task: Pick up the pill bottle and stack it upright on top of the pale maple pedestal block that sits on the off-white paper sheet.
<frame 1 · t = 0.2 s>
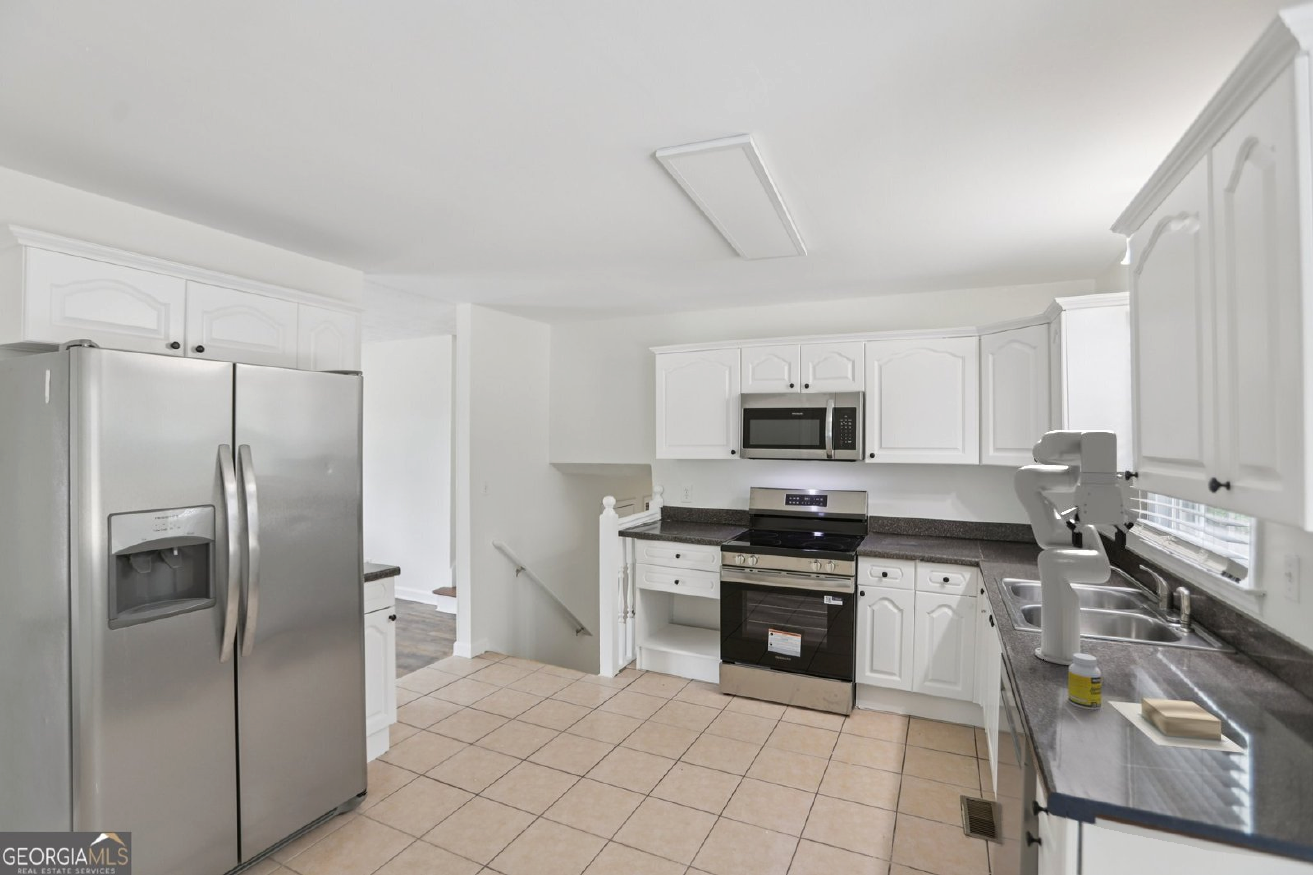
hand: (1098, 548, 158), 36 cm above the counter, tool pointing down, fingers open, 9 cm apart
pedestal block: (1179, 727, 139), resting on off-white paper sheet
pill bottle: (1084, 706, 151), on the counter
off-white paper sheet: (1171, 726, 140), on the counter
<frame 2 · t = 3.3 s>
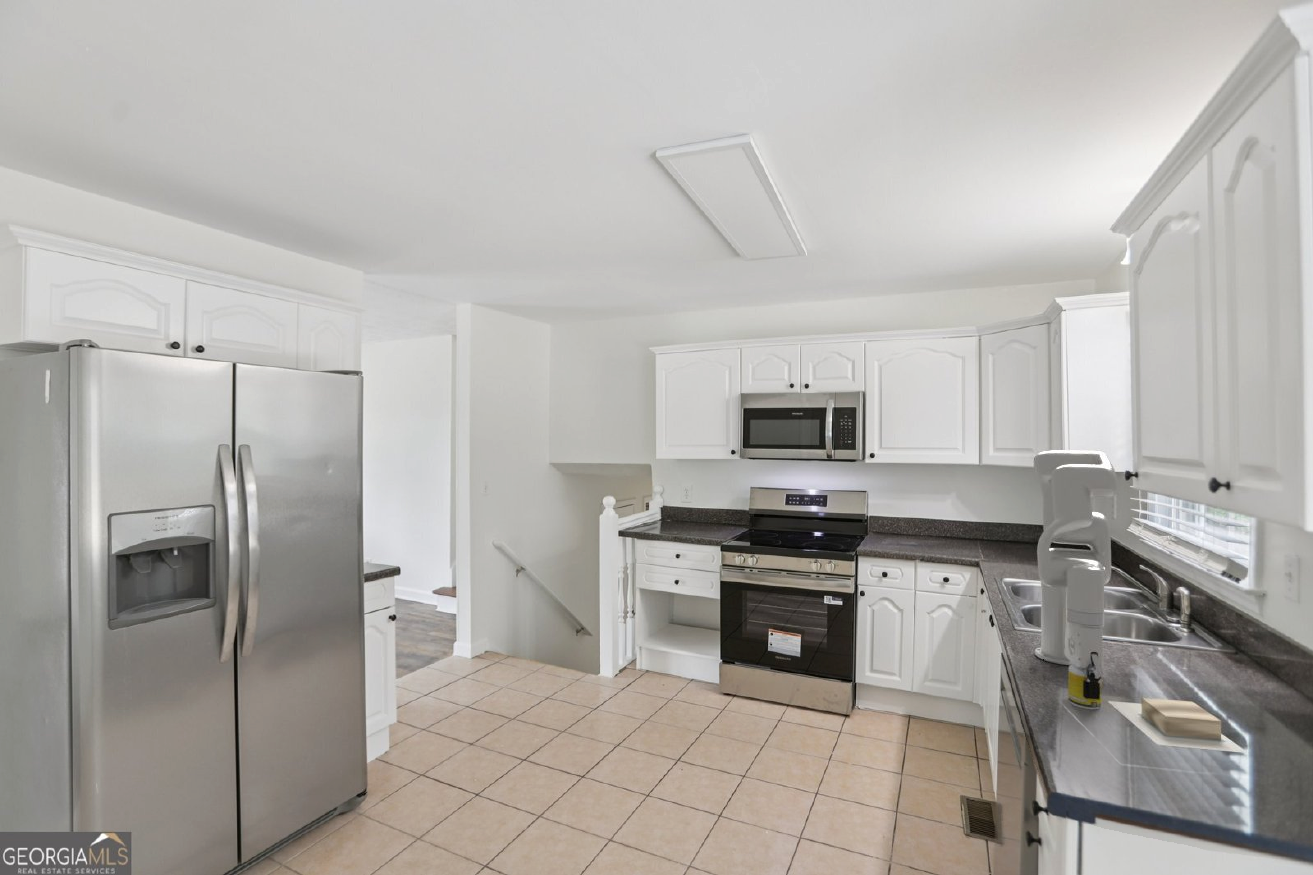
hand: (1084, 691, 151), 3 cm above the counter, tool pointing down, fingers closed on pill bottle, 6 cm apart
pill bottle: (1084, 705, 151), on the counter, touching gripper
everything else where it was.
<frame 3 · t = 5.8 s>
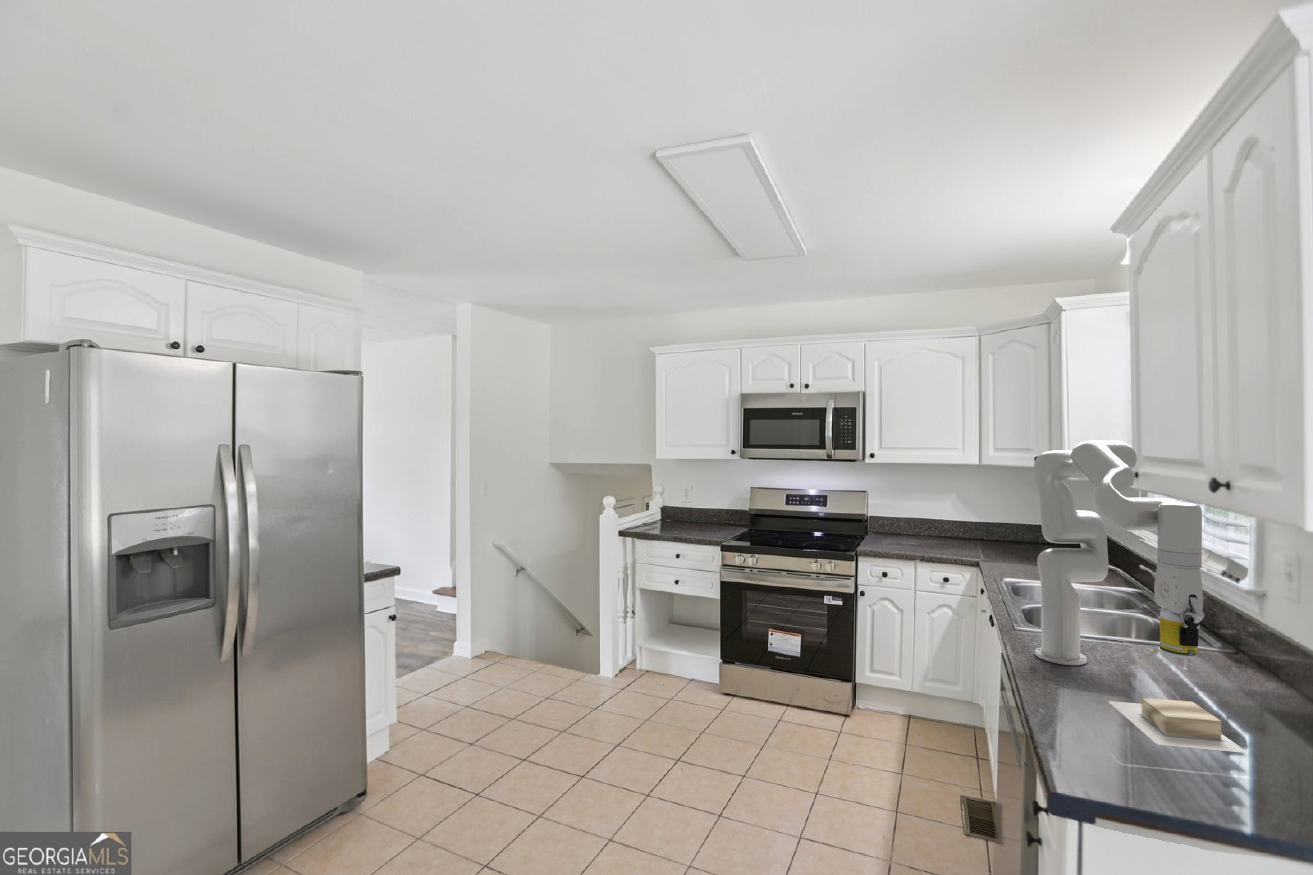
hand: (1178, 639, 139), 19 cm above the counter, tool pointing down, fingers closed on pill bottle, 6 cm apart
pill bottle: (1178, 655, 139), point 16 cm above the counter, touching gripper
everything else where it was.
when the fingers open (8 cm above the counter, at t = 8.3 s): pill bottle stays where it is, resting on pedestal block.
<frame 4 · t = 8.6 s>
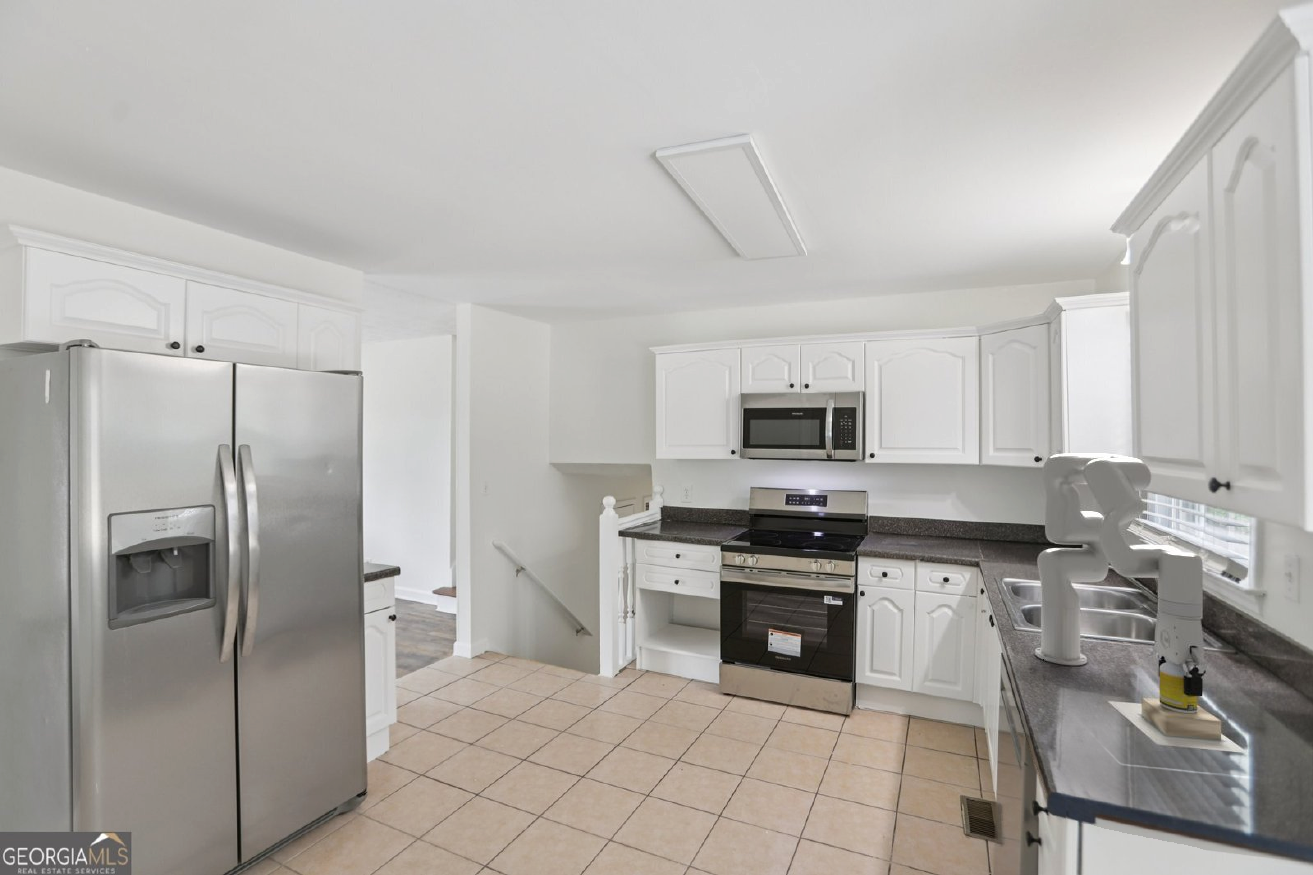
hand: (1179, 686, 139), 9 cm above the counter, tool pointing down, fingers open, 9 cm apart
pedestal block: (1179, 727, 139), resting on off-white paper sheet, touching pill bottle
pill bottle: (1178, 709, 139), point 4 cm above the counter, touching pedestal block
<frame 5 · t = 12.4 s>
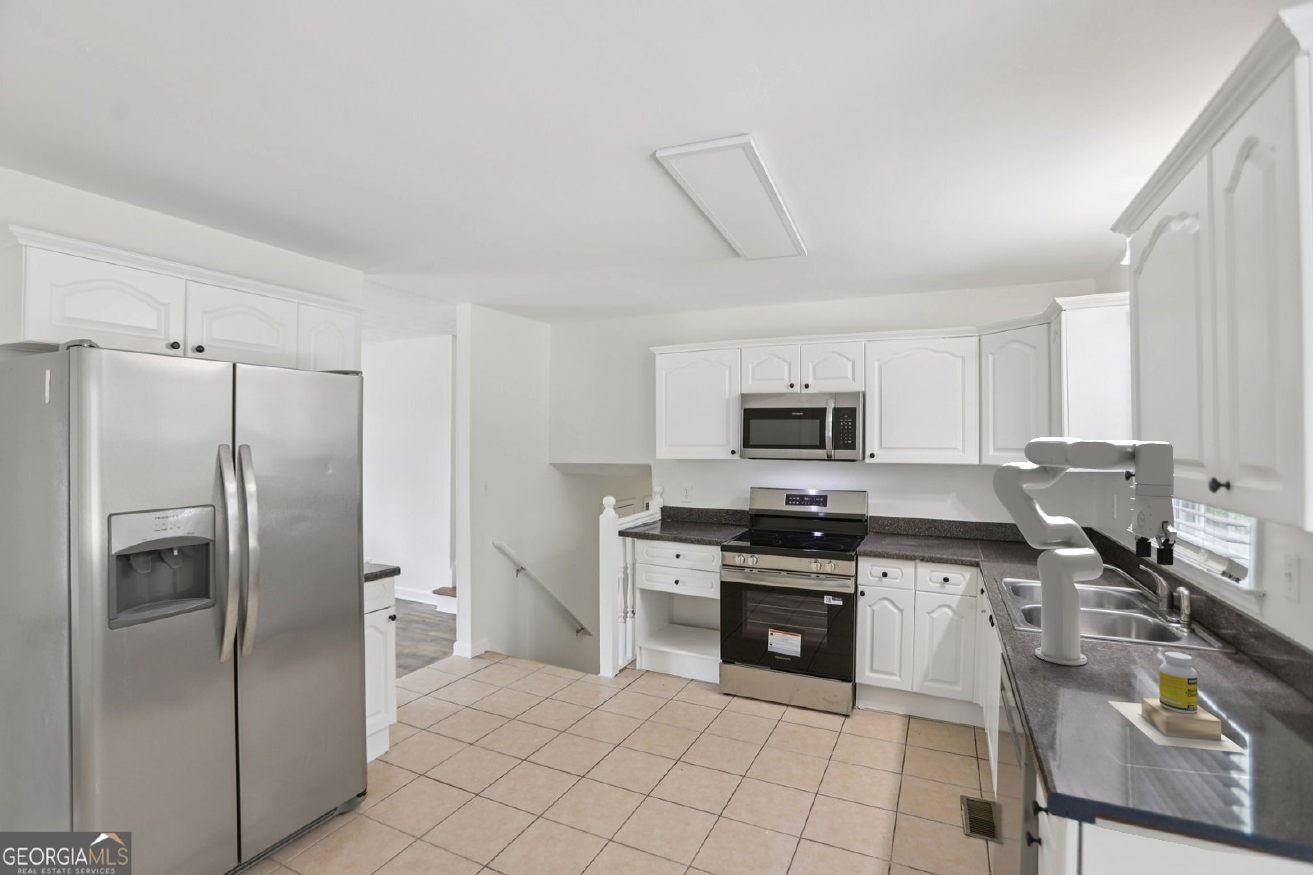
hand: (1153, 560, 156), 33 cm above the counter, tool pointing down, fingers open, 9 cm apart
nothing on the counter moved.
at the end: pill bottle inside the target area on the pedestal block (0.4 cm from its centre), point 3.8 cm above the pedestal block's base; pill bottle tilted 0°; the gripper is holding nothing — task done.
